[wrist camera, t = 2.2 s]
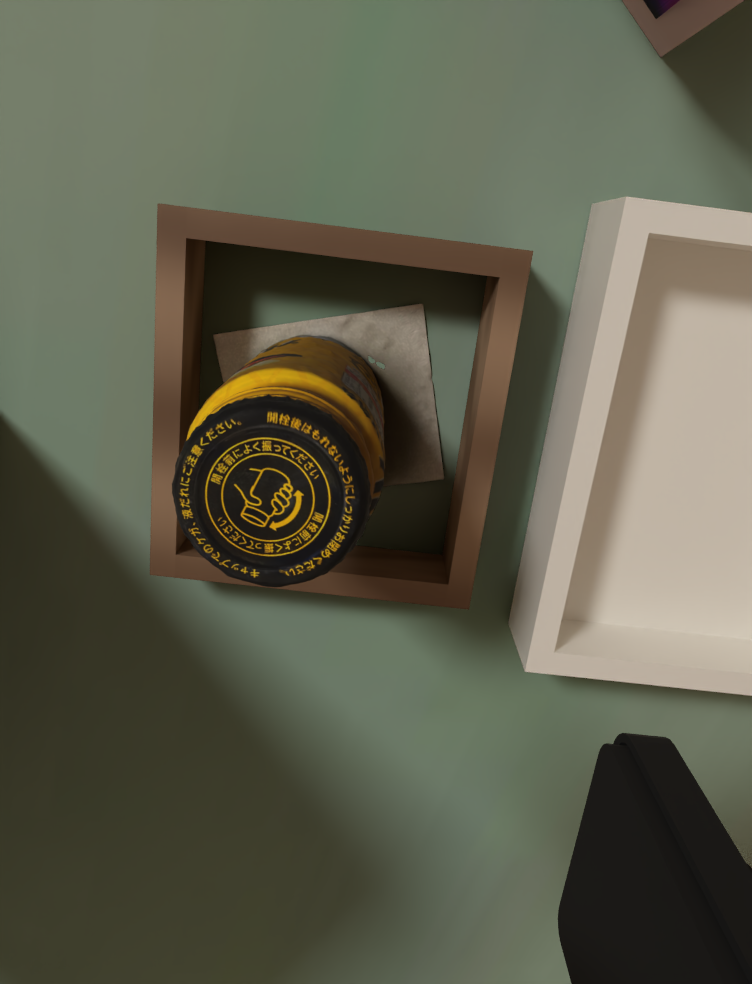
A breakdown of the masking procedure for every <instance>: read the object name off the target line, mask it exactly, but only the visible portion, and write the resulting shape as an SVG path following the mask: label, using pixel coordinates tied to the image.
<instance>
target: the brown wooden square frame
mask: <svg viewBox="0 0 752 984" xmlns="http://www.w3.org/2000/svg"><path fill="white" fill-rule="evenodd" d="M206 241H214V242H222V243H230V244H238V245H246V246H254V247H262V248H270V249H278V250H286V251H294V252H302V253H310V254H318V255H326V256H334V257H342V258H349V259H357V260H365V261H373V262H381V263H389V264H397V265H405V266H413V267H421V268H429V269H437V270H445V271H453V272H461V273H469V274H477V275H485V276H487V281H486V287H485V293H484V300H483V306H482V312H481V318H480V324H479V330H478V337H477V343H476V349H475V355H474V361H473V368H472V374H471V380H470V386H469V392H468V399H467V405H466V411H465V417H464V423H463V429H462V436H461V442H460V448H459V454H458V460H457V467H456V473H455V479H454V485H453V491H452V498H451V504H450V510H449V516H448V522H447V528H446V535H445V541H444V547H443V553H442V555H438V554H429V553H420V552H411V551H402V550H393V549H384V548H375V547H366V546H357V545H356V546H355V547H354V549H353V550H352V551H351V552H349V553H347V554H346V556H345V558H344V560H343V561H342V562H340V563H339V564H337V565H336V566H335V567H334V568H333V569H331V570H330V571H329V572H328V573H327V574H325V575H321V576H319V577H317V578H315V579H313V580H310V581H307V582H303V583H299V584H292V585H287V586H283V587H267V588H276V589H286V590H295V591H304V592H313V593H322V594H331V595H341V596H350V597H359V598H368V599H377V600H387V601H396V602H405V603H414V604H423V605H433V606H442V607H451V608H460V609H469V607H470V601H471V595H472V590H473V584H474V579H475V573H476V567H477V562H478V556H479V551H480V545H481V540H482V534H483V528H484V523H485V517H486V512H487V506H488V500H489V495H490V489H491V484H492V478H493V473H494V467H495V461H496V456H497V450H498V445H499V439H500V434H501V428H502V422H503V417H504V411H505V406H506V400H507V394H508V389H509V383H510V378H511V372H512V367H513V361H514V355H515V350H516V344H517V339H518V333H519V327H520V322H521V316H522V311H523V305H524V300H525V294H526V288H527V283H528V277H529V272H530V266H531V261H532V255H533V251H529V250H521V249H513V248H505V247H497V246H489V245H481V244H473V243H465V242H458V241H450V240H442V239H434V238H426V237H418V236H410V235H402V234H394V233H387V232H379V231H371V230H363V229H355V228H347V227H339V226H331V225H323V224H316V223H308V222H300V221H292V220H284V219H276V218H268V217H260V216H252V215H245V214H237V213H229V212H221V211H213V210H205V209H197V208H189V207H181V206H174V205H166V204H158V212H157V260H156V307H155V354H154V402H153V449H152V496H151V544H150V575H157V576H166V577H175V578H184V579H194V580H203V581H212V582H221V583H230V584H240V585H249V586H258V587H265V586H261V585H257V584H254V583H250V582H246V581H242V580H239V579H235V578H231V577H229V576H227V575H225V574H224V573H223V572H222V571H221V570H220V569H218V568H217V567H215V566H213V565H212V564H211V563H210V562H209V561H207V560H206V559H205V558H204V557H202V556H201V555H200V554H199V553H198V552H197V551H196V550H195V548H194V547H193V545H192V544H191V542H190V540H189V539H188V538H187V537H186V536H185V535H184V532H183V530H182V529H181V527H180V524H179V521H178V518H177V514H176V510H175V504H174V499H173V495H172V482H173V479H174V475H175V464H176V461H177V458H178V457H179V455H180V453H181V451H182V448H183V447H184V442H185V441H186V440H187V436H188V432H189V429H190V425H191V424H192V422H193V421H194V419H195V417H196V415H197V413H198V411H199V389H200V364H201V340H202V316H203V292H204V268H205V244H206Z"/></svg>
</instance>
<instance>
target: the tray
mask: <svg viewBox="0 0 752 984" xmlns="http://www.w3.org/2000/svg"><path fill="white" fill-rule="evenodd" d="M508 624H509V627H510V630H511V633H512V636H513V639H514V642H515V644H516V647H517V650H518V653H519V656H520V659H521V662H522V665H523V667H524V670H525V672H534V673H543V674H552V675H562V676H571V677H581V678H590V679H600V680H609V681H618V682H628V683H637V684H647V685H656V686H666V687H675V688H684V689H694V690H703V691H713V692H722V693H732V694H741V695H750V696H752V213H748V212H741V211H733V210H725V209H717V208H710V207H702V206H694V205H687V204H679V203H671V202H664V201H656V200H648V199H641V198H633V197H622V198H618V199H613V200H608V201H603V202H599V203H594V204H592V206H591V211H590V216H589V221H588V226H587V231H586V236H585V241H584V246H583V251H582V256H581V261H580V266H579V271H578V276H577V281H576V286H575V291H574V296H573V301H572V306H571V311H570V316H569V321H568V326H567V331H566V336H565V341H564V346H563V351H562V356H561V361H560V366H559V371H558V376H557V381H556V386H555V391H554V396H553V401H552V406H551V411H550V416H549V421H548V426H547V431H546V436H545V441H544V446H543V451H542V456H541V461H540V466H539V471H538V476H537V481H536V486H535V491H534V496H533V501H532V506H531V511H530V516H529V521H528V526H527V531H526V536H525V541H524V546H523V551H522V556H521V561H520V566H519V571H518V576H517V581H516V586H515V591H514V596H513V601H512V606H511V611H510V616H509V621H508Z"/></svg>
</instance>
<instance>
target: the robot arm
mask: <svg viewBox="0 0 752 984" xmlns="http://www.w3.org/2000/svg"><path fill="white" fill-rule="evenodd" d="M558 929H559V937H560V942H561V946H562V949H563V953H564V957H565V961H566V964H567V968H568V972H569V976H570V979H571V983H572V984H752V868H751V867H750V866H749V865H748V864H746V862H745V861H744V859H743V858H742V856H741V854H740V853H739V851H738V849H737V848H736V846H735V844H734V843H733V841H732V839H731V838H730V836H729V834H728V833H727V831H726V829H725V828H724V826H723V824H722V823H721V821H720V820H719V818H718V816H717V815H716V813H715V811H714V810H713V808H712V806H711V805H710V803H709V801H708V800H707V798H706V796H705V795H704V793H703V791H702V790H701V788H700V786H699V785H698V783H697V782H696V780H695V778H694V777H693V775H692V773H691V772H690V770H689V768H688V767H687V765H686V763H685V762H684V760H683V758H682V757H681V755H680V753H679V752H678V750H677V748H676V747H675V745H674V744H673V743H672V741H671V740H670V739H668V738H666V737H658V736H648V735H638V734H628V733H622V734H619V735H618V736H617V738H616V739H615V741H614V744H604V745H603V746H602V747H601V749H600V752H599V755H598V759H597V762H596V766H595V770H594V774H593V778H592V782H591V786H590V789H589V793H588V797H587V801H586V805H585V809H584V813H583V816H582V820H581V824H580V828H579V832H578V836H577V840H576V843H575V847H574V851H573V855H572V859H571V863H570V867H569V871H568V874H567V878H566V882H565V886H564V890H563V894H562V898H561V901H560V906H559V912H558Z"/></svg>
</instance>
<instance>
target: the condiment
mask: <svg viewBox="0 0 752 984" xmlns="http://www.w3.org/2000/svg"><path fill="white" fill-rule="evenodd" d="M213 337H214V341H215V346H216V351H217V356H218V360H219V365H220V368H221V374H222V378H223V382H224V384H223V385H221V386H220V387H219V388H218V389H217V390H216V391H215V392H214V393H213V394H212V395H211V396H210V397H209V398H208V399H207V400H206V402H205V403H204V405H203V406H202V408H201V409H200V410H199V411H198V413H197V415H196V417H195V419H194V421H193V422H192V424H191V425H190V429H189V432H188V436H187V440H186V441H185V442H184V447H183V448H182V451H181V453H180V455H179V457H178V458H177V461H176V464H175V475H174V479H173V482H172V495H173V499H174V504H175V510H176V514H177V518H178V521H179V524H180V527H181V529H182V530H183V532H184V535H185V536H186V537H187V538H188V539H189V540H190V542H191V544H192V545H193V547H194V548H195V550H196V551H197V552H198V553H199V554H200V555H201V556H202V557H204V558H205V559H206V560H207V561H209V562H210V563H211V564H212V565H213V566H215V567H217V568H218V569H220V570H221V571H222V572H223V573H224V574H225V575H227V576H229V577H231V578H235V579H239V580H242V581H246V582H250V583H254V584H257V585H261V586H265V587H283V586H287V585H292V584H299V583H303V582H307V581H310V580H313V579H315V578H317V577H319V576H321V575H325V574H327V573H328V572H329V571H330V570H331V569H333V568H334V567H335V566H336V565H337V564H339V563H340V562H342V561H343V560H344V558H345V556H346V554H347V553H349V552H351V551H352V550H353V549H354V547H355V546H356V544H357V541H358V539H360V538H361V537H362V535H363V532H364V530H365V524H366V522H367V521H368V519H369V518H370V516H371V514H372V512H373V511H374V509H375V506H376V504H377V502H378V500H379V497H380V494H381V490H382V487H386V486H391V485H400V484H408V483H418V482H426V481H433V480H440V479H444V472H443V464H442V457H441V449H440V441H439V433H438V426H437V416H436V409H435V400H434V392H433V384H432V380H431V378H432V375H431V367H430V358H429V350H428V342H427V335H426V325H425V317H424V309H423V304H416V305H409V306H403V307H396V308H389V309H382V310H376V311H370V312H364V313H356V314H349V315H342V316H335V317H329V318H322V319H315V320H308V321H301V322H294V323H288V324H281V325H274V326H267V327H260V328H254V329H248V330H240V331H234V332H227V333H221V334H215V335H213ZM368 356H371V357H372V358H373V359H374V360H375V363H370V362H369V361H368ZM376 362H381V363H383V364H385V369H382V368H379V367H378V366H377V365H376Z"/></svg>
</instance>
